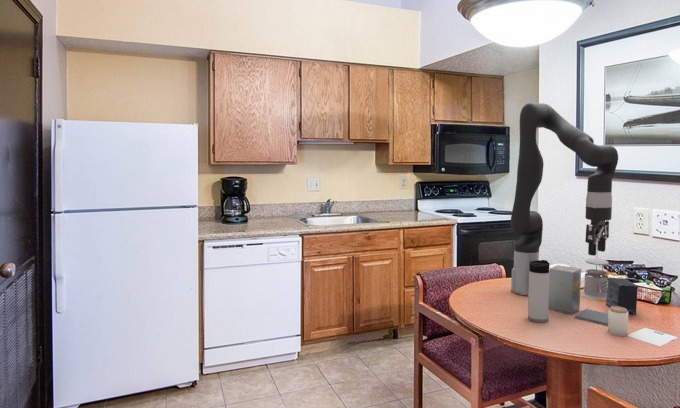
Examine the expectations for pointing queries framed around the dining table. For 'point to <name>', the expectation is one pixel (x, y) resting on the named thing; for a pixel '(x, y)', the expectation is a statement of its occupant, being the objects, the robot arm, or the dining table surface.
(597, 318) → the slate pad
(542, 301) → the travel mug
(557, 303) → the box
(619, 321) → the cream jar
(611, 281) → the small box
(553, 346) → the dining table surface
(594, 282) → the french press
